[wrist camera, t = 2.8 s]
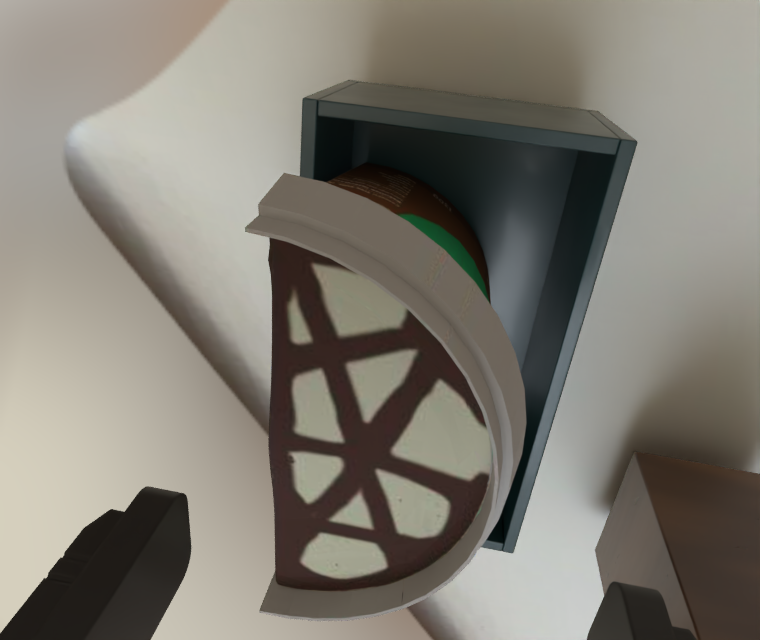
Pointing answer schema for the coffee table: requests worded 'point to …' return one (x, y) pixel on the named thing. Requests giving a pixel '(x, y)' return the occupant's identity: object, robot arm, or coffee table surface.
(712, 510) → the pillar
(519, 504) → the teal open box
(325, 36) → the coffee table surface
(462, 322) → the food container
